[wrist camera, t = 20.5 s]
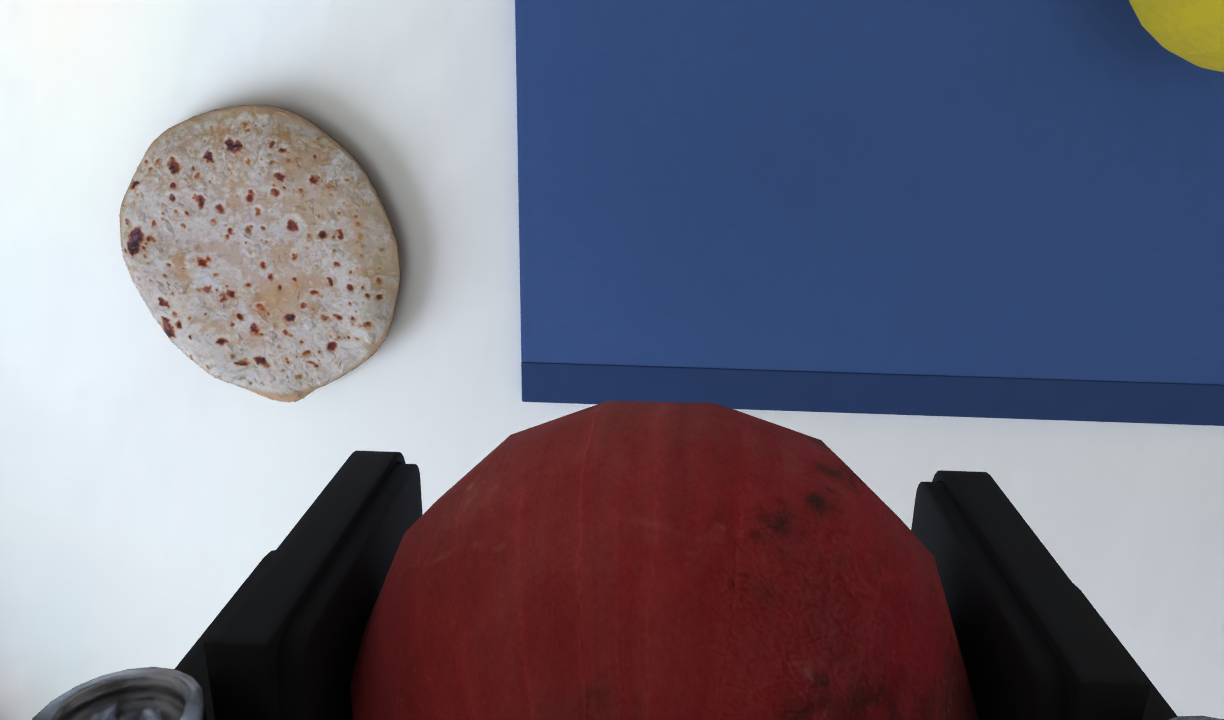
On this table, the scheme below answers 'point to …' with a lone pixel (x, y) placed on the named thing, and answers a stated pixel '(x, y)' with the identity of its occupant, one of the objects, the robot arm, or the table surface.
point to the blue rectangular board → (870, 209)
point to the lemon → (1186, 28)
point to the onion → (661, 584)
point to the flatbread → (261, 250)
